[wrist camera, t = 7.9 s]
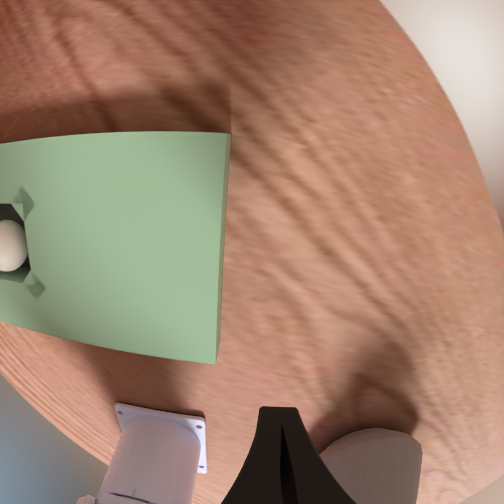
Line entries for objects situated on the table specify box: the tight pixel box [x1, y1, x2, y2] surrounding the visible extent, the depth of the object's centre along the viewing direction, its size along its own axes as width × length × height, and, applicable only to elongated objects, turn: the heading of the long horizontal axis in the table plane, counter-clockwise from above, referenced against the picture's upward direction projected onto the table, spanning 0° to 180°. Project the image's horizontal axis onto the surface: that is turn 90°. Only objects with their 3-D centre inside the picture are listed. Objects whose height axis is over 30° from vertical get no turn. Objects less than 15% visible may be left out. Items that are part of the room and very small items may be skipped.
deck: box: [0, 131, 231, 364], centre depth 17 cm, size 13×20×2 cm, turn 85°
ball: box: [0, 220, 28, 271], centre depth 17 cm, size 4×4×4 cm
